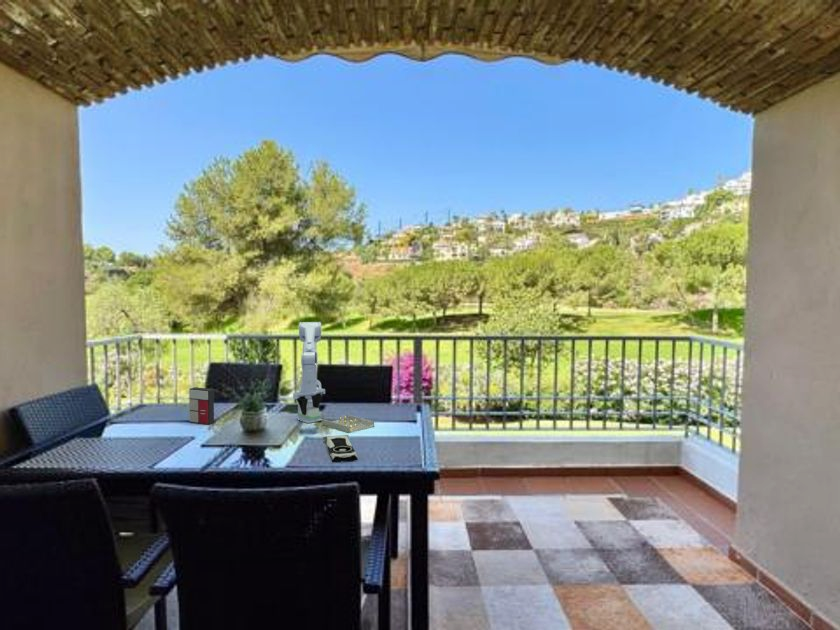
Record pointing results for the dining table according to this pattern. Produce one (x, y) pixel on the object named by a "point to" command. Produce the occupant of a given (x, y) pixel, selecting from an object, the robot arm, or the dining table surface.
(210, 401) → the toy cabinet
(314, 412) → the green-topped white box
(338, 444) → the graphics card
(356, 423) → the chassis
